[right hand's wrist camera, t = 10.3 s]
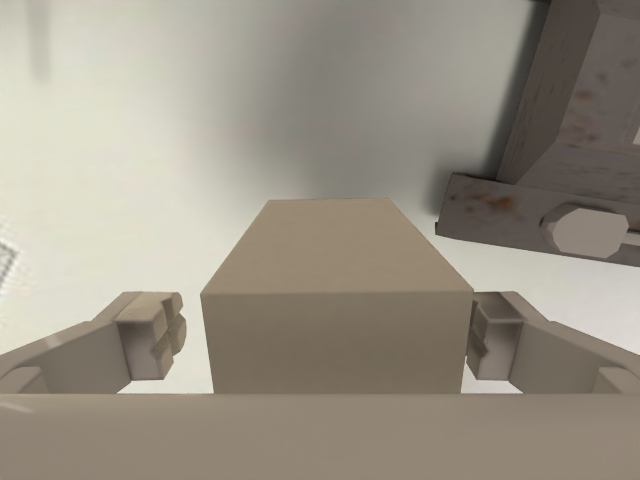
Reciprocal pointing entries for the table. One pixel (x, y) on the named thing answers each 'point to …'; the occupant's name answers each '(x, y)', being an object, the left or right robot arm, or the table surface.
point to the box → (336, 305)
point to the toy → (566, 146)
